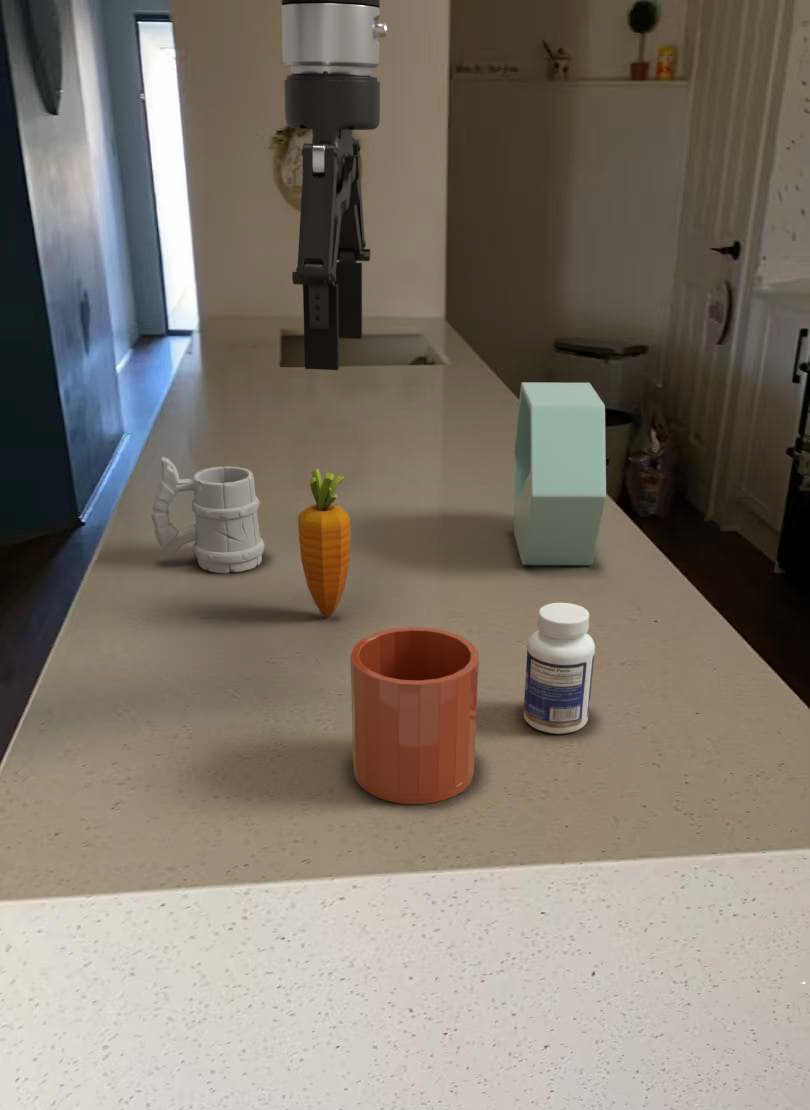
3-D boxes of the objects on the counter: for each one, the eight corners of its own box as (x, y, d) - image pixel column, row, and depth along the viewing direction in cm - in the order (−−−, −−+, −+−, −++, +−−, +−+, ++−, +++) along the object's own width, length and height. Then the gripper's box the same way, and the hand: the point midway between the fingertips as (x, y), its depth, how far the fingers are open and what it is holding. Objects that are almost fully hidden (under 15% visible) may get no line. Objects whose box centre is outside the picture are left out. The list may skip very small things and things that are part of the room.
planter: (514, 579, 128) (512, 408, 130) (580, 579, 128) (577, 408, 130) (532, 549, 112) (529, 352, 113) (607, 548, 112) (604, 352, 113)
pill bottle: (542, 697, 94) (550, 593, 89) (599, 715, 91) (609, 609, 86) (510, 723, 90) (516, 615, 85) (568, 742, 87) (578, 632, 83)
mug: (267, 572, 118) (261, 463, 112) (156, 579, 116) (144, 469, 111) (262, 546, 125) (256, 443, 119) (157, 553, 123) (145, 448, 117)
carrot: (305, 606, 110) (298, 461, 103) (354, 607, 110) (351, 462, 103) (299, 627, 106) (292, 477, 99) (350, 628, 106) (347, 478, 99)
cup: (345, 801, 80) (342, 680, 75) (362, 736, 88) (360, 624, 83) (471, 808, 79) (476, 687, 74) (476, 742, 87) (480, 629, 82)
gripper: (356, 68, 74) (357, 386, 84) (397, 76, 96) (394, 328, 106) (247, 66, 74) (261, 382, 85) (313, 75, 96) (317, 325, 106)
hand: (335, 352), depth 95 cm, fingers open, 13 cm apart
